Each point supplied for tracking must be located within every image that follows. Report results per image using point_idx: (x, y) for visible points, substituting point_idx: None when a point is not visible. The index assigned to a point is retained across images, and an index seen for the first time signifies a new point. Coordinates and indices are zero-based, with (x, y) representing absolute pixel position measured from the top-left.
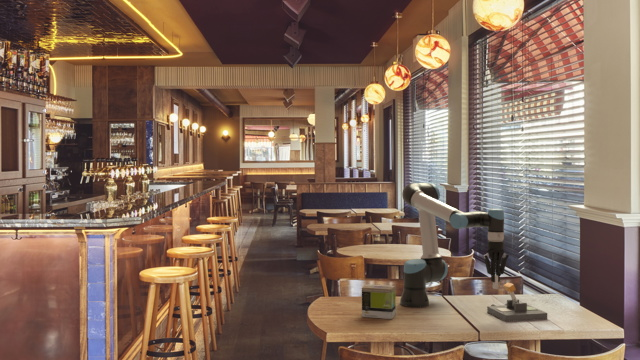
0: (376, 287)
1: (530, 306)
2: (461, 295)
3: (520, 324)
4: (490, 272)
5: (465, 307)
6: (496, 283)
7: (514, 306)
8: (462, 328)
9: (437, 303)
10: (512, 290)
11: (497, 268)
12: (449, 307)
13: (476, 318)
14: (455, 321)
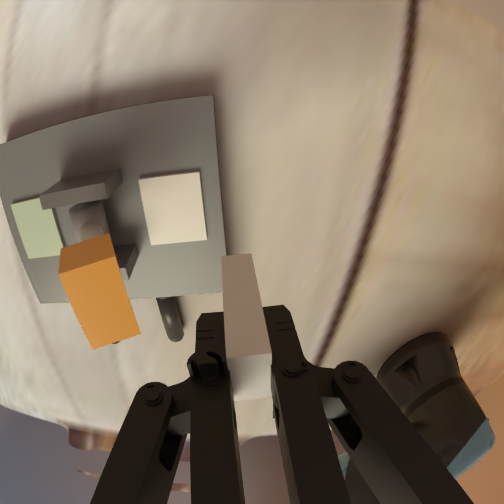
0: None
1: (29, 258)
2: None
3: (159, 41)
4: (362, 384)
5: None
6: (243, 288)
7: (113, 189)
8: (452, 55)
9: None
10: (89, 242)
11: (238, 463)
12: (343, 341)
13: (334, 177)
14: (436, 152)
